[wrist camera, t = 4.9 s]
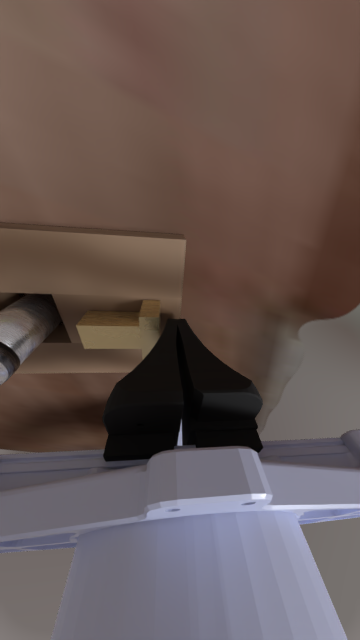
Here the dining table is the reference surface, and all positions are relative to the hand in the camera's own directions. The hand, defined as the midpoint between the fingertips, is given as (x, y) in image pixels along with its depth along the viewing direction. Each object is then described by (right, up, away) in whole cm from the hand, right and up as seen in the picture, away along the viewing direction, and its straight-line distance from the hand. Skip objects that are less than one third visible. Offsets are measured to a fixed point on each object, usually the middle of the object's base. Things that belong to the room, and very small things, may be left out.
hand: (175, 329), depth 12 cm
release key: (-4, +1, 0) cm, 4 cm away
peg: (-11, +2, +2) cm, 11 cm away
